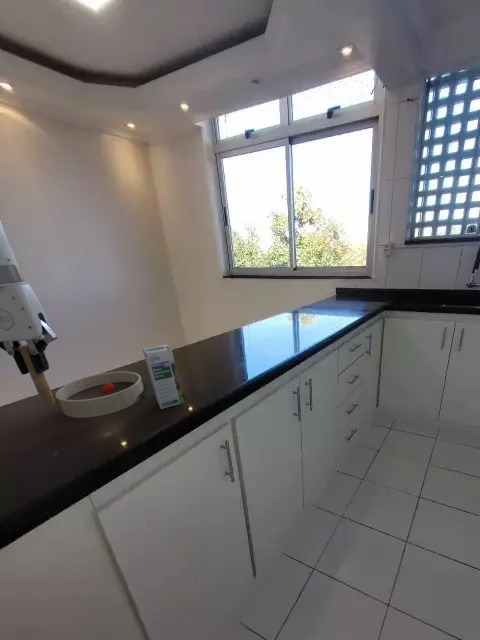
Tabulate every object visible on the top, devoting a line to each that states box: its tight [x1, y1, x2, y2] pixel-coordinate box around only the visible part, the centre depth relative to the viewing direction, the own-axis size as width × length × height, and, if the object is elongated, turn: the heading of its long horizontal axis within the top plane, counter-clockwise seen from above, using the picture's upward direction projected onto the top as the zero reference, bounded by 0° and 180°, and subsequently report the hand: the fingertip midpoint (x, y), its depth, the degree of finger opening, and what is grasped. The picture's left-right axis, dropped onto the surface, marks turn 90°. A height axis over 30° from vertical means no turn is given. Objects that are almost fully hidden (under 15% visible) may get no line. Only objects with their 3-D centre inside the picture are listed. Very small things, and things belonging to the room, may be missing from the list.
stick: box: [18, 344, 56, 406], centre depth 65 cm, size 2×2×13 cm
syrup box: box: [142, 344, 185, 410], centre depth 76 cm, size 6×6×14 cm
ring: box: [55, 370, 145, 419], centre depth 81 cm, size 19×19×4 cm
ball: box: [101, 383, 116, 394], centre depth 84 cm, size 3×3×3 cm
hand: (35, 371), depth 64 cm, fingers closed on stick, 2 cm apart
